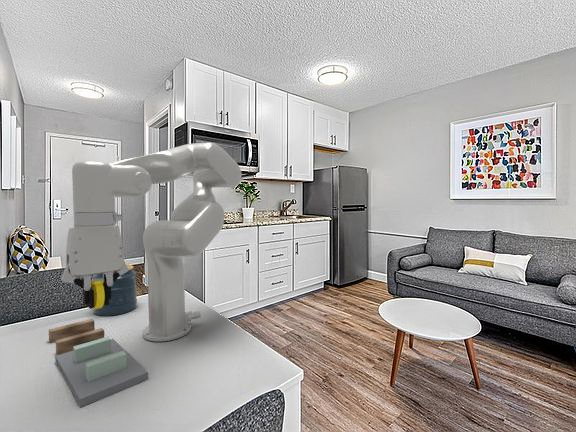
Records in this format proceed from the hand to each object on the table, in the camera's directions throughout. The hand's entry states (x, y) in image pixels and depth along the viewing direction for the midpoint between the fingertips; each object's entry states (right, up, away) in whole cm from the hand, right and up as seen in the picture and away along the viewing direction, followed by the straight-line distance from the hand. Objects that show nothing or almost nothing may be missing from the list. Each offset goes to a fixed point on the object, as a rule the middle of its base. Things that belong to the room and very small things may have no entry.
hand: (97, 304), depth 66 cm
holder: (-15, -14, +14) cm, 25 cm away
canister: (-17, -13, +38) cm, 43 cm away
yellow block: (0, -1, 0) cm, 1 cm away
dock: (0, -15, +1) cm, 15 cm away
